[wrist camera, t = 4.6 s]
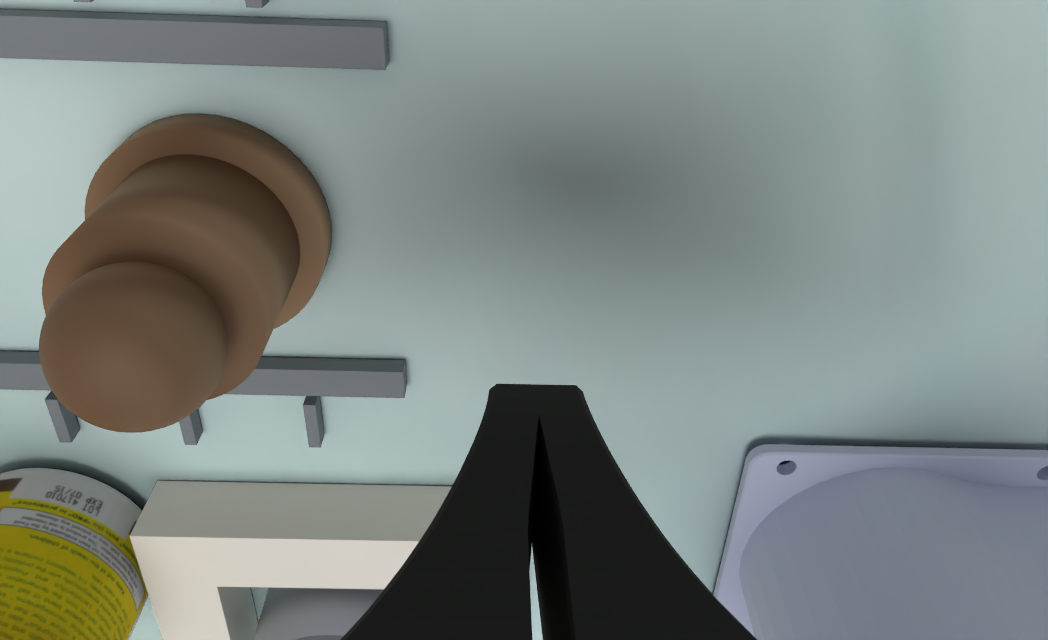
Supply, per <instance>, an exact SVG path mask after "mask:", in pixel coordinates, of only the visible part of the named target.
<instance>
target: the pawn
mask: <svg viewBox="0 0 1048 640" xmlns="http://www.w3.org/2000/svg"><path fill="white" fill-rule="evenodd" d="M331 240H332V227H331V219H330V214H329V210H328V206H327V203H326V200H325V197H324V195H323V193H322V191H321V189H320V187H319V185H318V183H317V182H316V180H315V179H314V177H313V175H312V174H311V172H310V171H309V170H308V169H307V167H306V166H305V165H304V164H303V163H302V161H301V160H300V159H299V158H298V157H297V156H296V155H295V154H294V153H293V152H292V151H291V150H289V149H288V148H287V147H286V146H284V145H283V144H282V143H280V142H279V141H278V140H277V139H275V138H273V137H272V136H270V135H268V134H267V133H265V132H264V131H262V130H260V129H258V128H255V127H253V126H251V125H249V124H247V123H244V122H241V121H238V120H235V119H232V118H227V117H223V116H218V115H210V114H182V115H176V116H170V117H166V118H163V119H160V120H157V121H154V122H152V123H150V124H148V125H146V126H144V127H142V128H141V129H139V130H138V131H136V132H135V133H134V134H132V135H131V136H130V137H129V138H128V139H127V140H126V141H125V142H124V143H123V144H121V145H120V146H119V147H118V148H117V149H116V150H115V151H114V152H113V153H112V154H111V155H110V156H109V157H108V158H107V159H106V160H105V161H104V162H103V163H102V165H101V166H100V167H99V169H98V170H97V172H96V173H95V175H94V177H93V179H92V181H91V184H90V186H89V189H88V193H87V197H86V204H85V221H84V222H83V223H82V224H81V225H80V226H79V227H78V228H77V229H76V230H75V232H74V233H73V234H72V235H71V236H70V237H69V238H68V239H67V240H66V241H65V242H64V243H63V244H62V245H61V246H60V247H59V248H58V249H57V251H56V252H55V254H54V255H53V256H52V258H51V259H50V261H49V264H48V266H47V268H46V271H45V274H44V278H43V287H42V296H43V305H44V309H45V313H46V317H45V320H44V322H43V325H42V329H41V334H40V340H39V355H40V363H41V367H42V371H43V374H44V377H45V379H46V381H47V384H48V385H49V387H50V389H51V390H52V392H53V393H54V395H55V396H56V397H57V399H58V400H59V401H60V402H61V403H62V404H63V405H64V406H65V407H66V408H67V409H68V410H69V411H70V412H72V413H73V414H75V415H76V416H77V417H79V418H81V419H82V420H84V421H86V422H88V423H90V424H92V425H95V426H98V427H100V428H103V429H107V430H111V431H118V432H146V431H152V430H156V429H160V428H164V427H167V426H169V425H172V424H174V423H176V422H178V421H180V420H182V419H184V418H186V417H187V416H189V415H190V414H191V413H193V412H194V411H195V410H197V409H198V408H199V407H200V406H201V405H202V404H203V403H204V402H205V401H206V400H208V399H212V398H215V397H218V396H220V395H223V394H225V393H227V392H229V391H231V390H233V389H234V388H236V387H237V386H239V385H240V384H241V383H242V382H244V381H245V380H246V379H247V378H248V377H249V376H250V374H251V373H252V372H253V371H254V369H255V368H256V366H257V365H258V362H259V360H260V358H261V356H262V353H263V351H264V349H265V347H266V344H267V342H268V340H269V337H270V335H271V333H272V331H273V329H274V328H277V327H279V326H280V325H282V324H284V323H286V322H287V321H289V320H290V319H291V318H293V317H294V316H295V315H297V314H298V313H299V312H300V311H301V310H302V309H303V308H304V307H305V305H306V304H307V303H308V301H309V300H310V299H311V297H312V296H313V294H314V292H315V290H316V288H317V285H318V283H319V281H320V278H321V276H322V273H323V270H324V268H325V265H326V263H327V260H328V256H329V253H330V248H331Z"/></svg>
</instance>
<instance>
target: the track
mask: <svg viewBox="0 0 1048 640" xmlns="http://www.w3.org/2000/svg"><path fill="white" fill-rule="evenodd" d="M92 1H93V0H74V2H92ZM245 2H246V7H254V8H263V7H264V6H265V5H266V4H267V3H268V2H269V0H245ZM0 58H17V59H50V60H82V61H115V62H147V63H180V64H212V65H245V66H277V67H310V68H342V69H375V70H386V68H387V65H388V63H389V57H388V39H387V21H360V20H329V19H297V18H266V17H235V16H204V15H173V14H142V13H111V12H80V11H48V10H17V9H0ZM406 387H407V382H406V364H405V360H372V359H328V358H284V357H261V358H260V360H259V362H258V365H257V366H256V368H255V369H254V371H253V372H252V373H251V374H250V376H249V377H248V378H247V379H246V380H245V381H244V382H242V383H241V384H240V385H239V386H237V387H236V388H234V389H233V390H231V391H229V392H227V393H225V394H244V395H290V396H306V398H305V401H304V404H303V408H304V415H305V422H306V429H307V436H308V443H309V447H321V445H322V441H323V438H324V428H323V420H322V412H321V404H320V397H319V396H336V397H383V398H405V392H406ZM0 389H12V390H51V389H50V387H49V385H48V384H47V381H46V379H45V377H44V374H43V371H42V367H41V363H40V355H39V352H19V351H0ZM45 402H46V405H47V407H48V410H49V413H50V416H51V419H52V421H53V424H54V427H55V430H56V433H57V435H58V438H59V441H60V442H72V441H73V440H74V438H75V437H76V435H77V434H78V432H79V431H80V428H79V425H78V422H77V419H76V416H75V414H73V413H72V412H70V411H69V410H68V409H67V408H66V407H65V406H64V405H63V404H62V403H61V402H60V401H59V400H58V399H57V397H56V396H55V395H54V393H53V392H52V391H51V392H50V393H49V395H48V396H47V397H46V399H45ZM179 423H180V427H181V431H182V435H183V439H184V443H185V445H197V443H198V441H199V439H200V437H201V435H202V432H203V431H202V427H201V423H200V419H199V414H198V410H195V411H194V412H193V413H191V414H190V415H189V416H187V417H186V418H184V419H182V420H180V421H179Z"/></svg>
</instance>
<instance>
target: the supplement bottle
mask: <svg viewBox="0 0 1048 640" xmlns="http://www.w3.org/2000/svg"><path fill="white" fill-rule="evenodd" d="M141 512H142V510H141V509H140V508H139V507H138V506H137V505H136V504H135V503H134V502H132V501H131V500H130V499H129V498H127V497H126V496H125V495H123V494H122V493H120V492H119V491H117V490H115V489H114V488H112V487H110V486H108V485H106V484H104V483H102V482H100V481H98V480H95V479H93V478H90V477H87V476H84V475H81V474H77V473H74V472H69V471H64V470H57V469H49V468H26V469H17V470H13V471H8V472H4V473H1V474H0V640H129V638H130V636H131V633H132V631H133V629H134V627H135V624H136V622H137V620H138V618H139V615H140V613H141V611H142V609H143V606H144V604H145V602H146V600H147V597H148V592H147V589H146V586H145V583H144V580H143V577H142V573H141V570H140V567H139V564H138V561H137V558H136V555H135V552H134V549H133V546H132V543H131V539H130V534H131V532H132V530H133V528H134V526H135V524H136V522H137V520H138V518H139V516H140V514H141Z"/></svg>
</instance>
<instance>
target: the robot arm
mask: <svg viewBox="0 0 1048 640" xmlns="http://www.w3.org/2000/svg"><path fill="white" fill-rule="evenodd" d="M787 460H790V462H788V463H787V464H783V465H779V463H781V462H783V461H787ZM1045 466H1046V467H1045ZM1043 467H1044V468H1043ZM531 545H532V547H533V556H534V565H535V574H536V582H537V591H538V600H539V608H540V617H541V626H542V634H543V640H1048V450H1022V449H973V448H924V447H875V446H826V445H778V444H767V445H760V446H758V447H755V448H754V449H752V450H751V451H750V452H749V453H748V455H747V457H746V460H745V464H744V469H743V473H742V477H741V481H740V485H739V489H738V494H737V498H736V502H735V506H734V510H733V515H732V519H731V523H730V527H729V531H728V536H727V540H726V544H725V548H724V552H723V557H722V561H721V565H720V569H719V573H718V577H717V582H716V586H715V590H714V594H712V593H711V592H710V591H709V590H708V588H707V587H706V586H705V585H704V584H703V583H702V582H701V581H700V579H699V578H698V577H697V576H696V575H695V574H694V573H693V571H692V570H691V569H690V568H689V567H688V565H687V564H686V563H685V562H684V560H683V559H682V558H681V557H680V556H679V554H678V553H677V552H676V551H675V549H674V548H673V547H672V546H671V544H670V543H669V542H668V540H667V539H666V538H665V536H664V535H663V534H662V532H661V531H660V529H659V528H658V527H657V525H656V524H655V523H654V521H653V520H652V518H651V517H650V515H649V514H648V512H647V511H646V509H645V508H644V507H643V505H642V504H641V502H640V501H639V499H638V498H637V496H636V494H635V493H634V491H633V490H632V488H631V487H630V485H629V483H628V482H627V480H626V478H625V477H624V475H623V473H622V472H621V470H620V468H619V467H618V465H617V463H616V461H615V460H614V458H613V456H612V454H611V453H610V451H609V449H608V447H607V445H606V443H605V441H604V439H603V437H602V436H601V434H600V432H599V430H598V428H597V425H596V423H595V421H594V419H593V417H592V415H591V412H590V410H589V408H588V405H587V403H586V400H585V397H584V394H583V392H582V391H581V390H580V389H579V388H578V387H577V386H576V385H530V384H496V385H495V386H494V387H492V388H491V389H490V390H489V396H488V401H487V405H486V409H485V412H484V416H483V419H482V422H481V424H480V427H479V430H478V432H477V435H476V437H475V440H474V442H473V444H472V447H471V449H470V451H469V453H468V455H467V457H466V459H465V462H464V464H463V466H462V468H461V470H460V472H459V474H458V476H457V478H456V480H455V482H454V484H453V486H452V487H451V489H450V491H449V493H448V495H447V496H446V498H445V500H444V502H443V503H442V505H441V507H440V509H439V510H438V512H437V514H436V516H435V517H434V519H433V521H432V522H431V524H430V525H429V527H428V529H427V530H426V532H425V533H424V535H423V536H422V538H421V539H420V541H419V542H418V544H417V545H416V547H415V548H414V550H413V551H412V553H411V554H410V555H409V557H408V558H407V560H406V561H405V563H404V564H403V565H402V567H401V568H400V569H399V571H398V572H397V573H396V575H395V576H394V577H393V578H392V580H391V581H390V582H389V584H388V585H387V586H386V587H385V589H384V590H383V591H382V593H381V594H380V595H379V596H378V598H377V599H376V600H375V601H374V603H373V604H372V605H371V606H370V607H369V609H368V610H367V611H366V612H365V613H364V614H363V616H362V617H361V618H360V619H359V620H358V621H357V622H356V623H355V624H354V625H353V627H352V628H351V629H350V630H349V631H348V632H347V633H346V634H345V635H344V636H343V637H342V638H341V639H340V640H532V625H531V602H530V578H529V568H530V557H531Z"/></svg>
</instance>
